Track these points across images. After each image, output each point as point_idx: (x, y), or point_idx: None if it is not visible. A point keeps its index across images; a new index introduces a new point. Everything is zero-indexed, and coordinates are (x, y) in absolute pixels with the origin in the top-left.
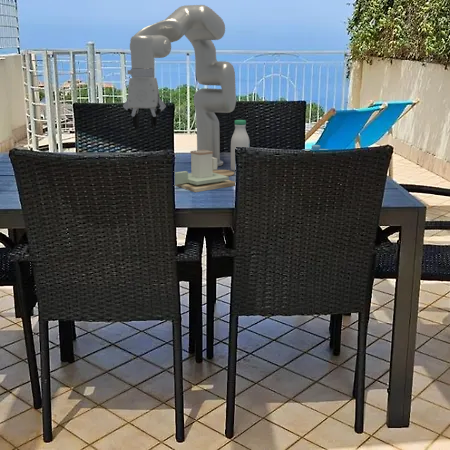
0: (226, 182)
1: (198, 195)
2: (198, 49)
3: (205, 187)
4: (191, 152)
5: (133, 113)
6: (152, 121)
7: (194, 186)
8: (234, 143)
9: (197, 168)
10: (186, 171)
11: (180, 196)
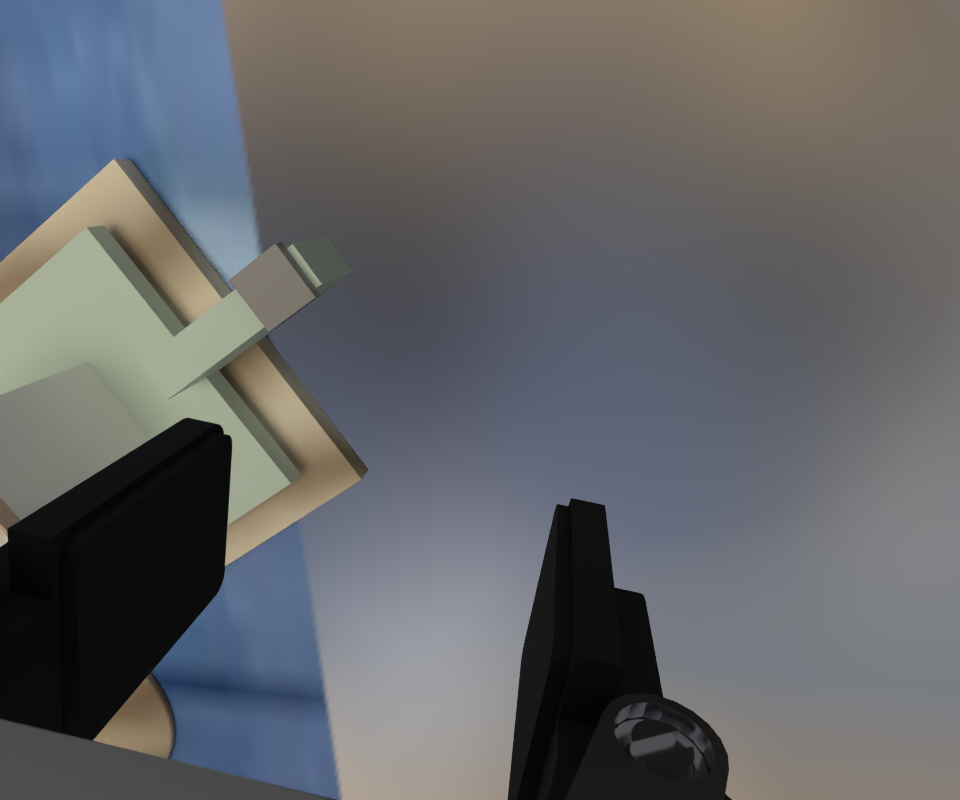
0: None
1: (86, 48)
2: None
3: (50, 217)
4: None
5: (650, 774)
6: (115, 477)
7: (133, 248)
8: None
9: (59, 410)
10: (153, 376)
11: (212, 12)
